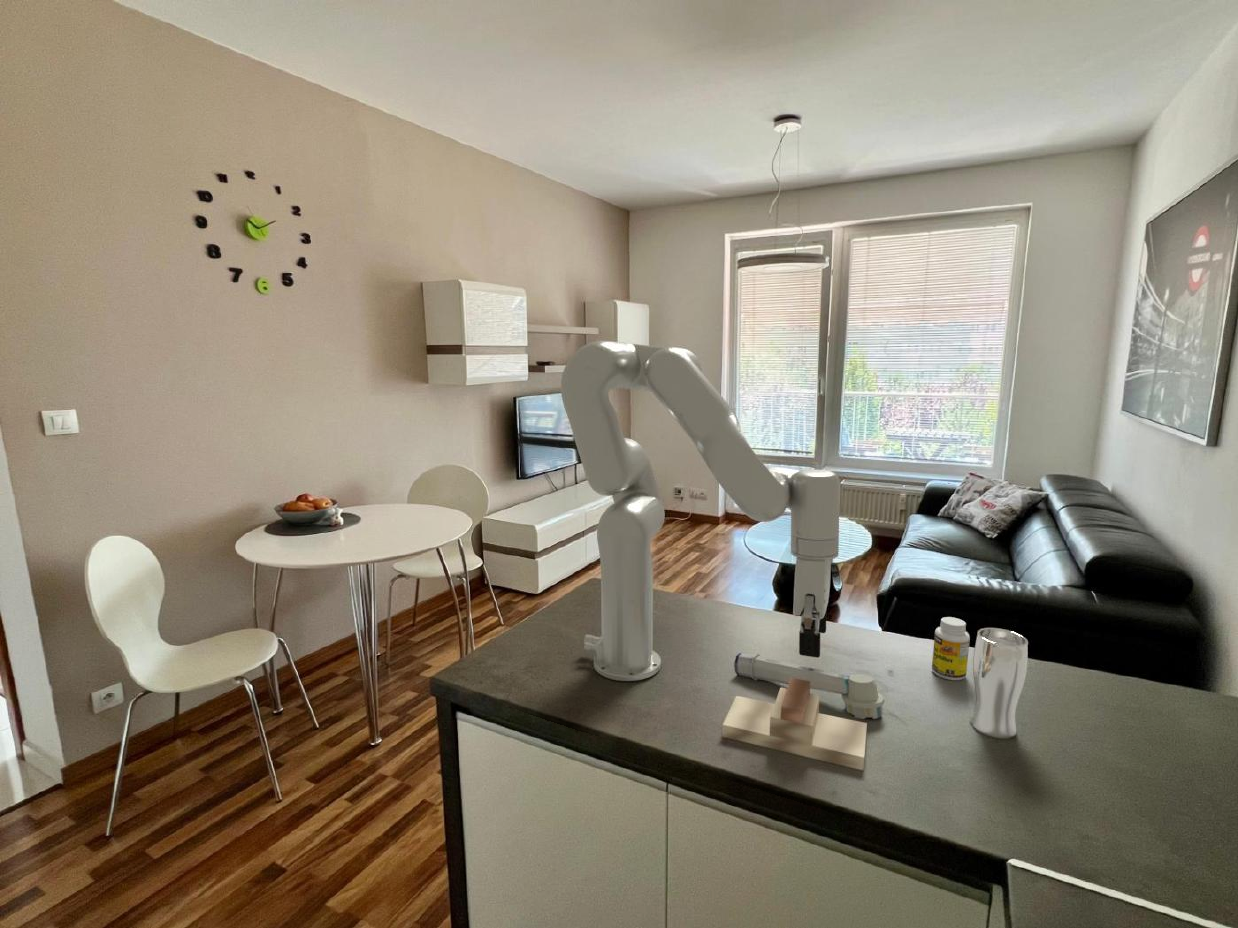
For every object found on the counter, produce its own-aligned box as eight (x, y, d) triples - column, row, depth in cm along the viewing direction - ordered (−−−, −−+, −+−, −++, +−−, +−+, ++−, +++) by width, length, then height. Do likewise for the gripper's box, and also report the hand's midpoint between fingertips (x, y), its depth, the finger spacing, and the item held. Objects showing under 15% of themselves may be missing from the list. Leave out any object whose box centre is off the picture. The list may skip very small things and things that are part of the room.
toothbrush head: (744, 647, 116) (885, 669, 101) (747, 681, 116) (888, 708, 101) (731, 657, 112) (876, 682, 96) (734, 693, 112) (879, 723, 97)
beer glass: (1001, 745, 92) (1011, 650, 90) (957, 721, 98) (965, 632, 96) (1029, 732, 95) (1039, 640, 93) (984, 710, 101) (993, 623, 99)
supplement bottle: (924, 670, 115) (928, 617, 113) (946, 664, 117) (950, 612, 115) (951, 684, 110) (956, 629, 108) (973, 678, 112) (978, 624, 110)
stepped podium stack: (722, 736, 95) (723, 694, 93) (736, 706, 103) (737, 667, 101) (863, 770, 87) (866, 724, 85) (866, 735, 95) (868, 692, 94)
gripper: (798, 530, 112) (797, 620, 114) (782, 558, 96) (782, 662, 99) (842, 533, 109) (840, 626, 111) (833, 562, 93) (831, 669, 96)
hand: (813, 643), depth 105 cm, fingers open, 9 cm apart
